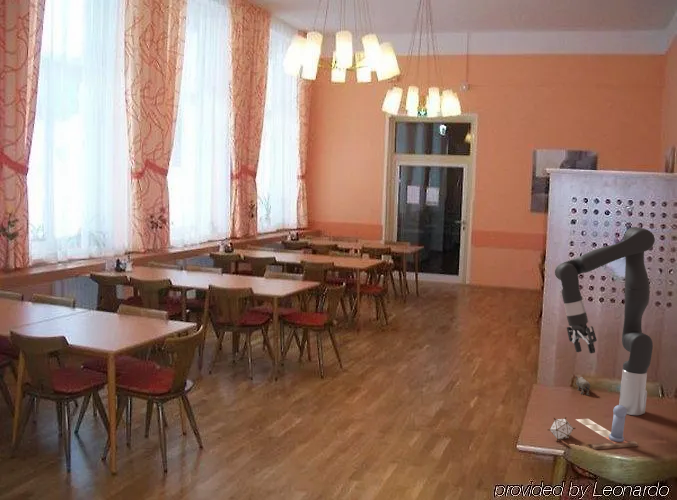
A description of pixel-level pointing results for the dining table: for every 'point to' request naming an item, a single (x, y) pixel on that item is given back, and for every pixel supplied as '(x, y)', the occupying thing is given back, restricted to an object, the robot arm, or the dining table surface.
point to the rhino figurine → (582, 385)
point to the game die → (561, 429)
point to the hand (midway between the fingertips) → (585, 352)
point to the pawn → (618, 423)
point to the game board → (605, 434)
